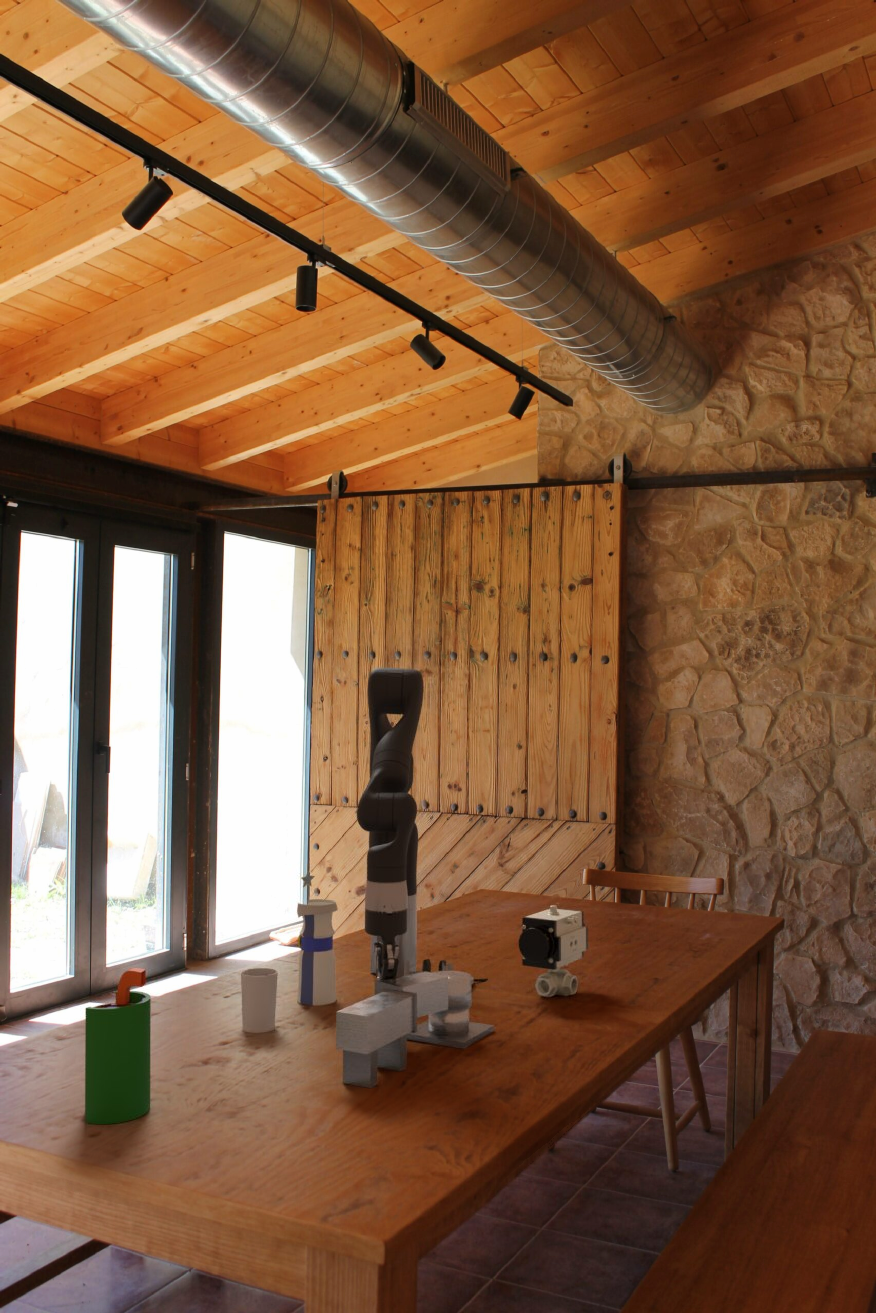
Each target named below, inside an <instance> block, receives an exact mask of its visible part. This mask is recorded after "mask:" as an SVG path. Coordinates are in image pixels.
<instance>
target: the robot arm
mask: <svg viewBox="0 0 876 1313" xmlns="http://www.w3.org/2000/svg"><path fill="white" fill-rule="evenodd" d="M424 689H425V687H424V678H423V674H422V672H421V671H419V670H417V669H413V668H400V667H399V668H398V667H376V668H374V669H372V670H371V671H370V672H369V675H368V680H367V689H366V690H367V691H366V693H367V708H368V719H369V720H368V721H369V731H370V732H369V734H370V738H369V739H370V742H369V743H370V744H369V780H368V783H367V785H366V787H365V789H364V791H363V792H362V795H361V796H360V799H359V801H358V804H357V808H356V820H357V822H358V825H359V826H360V828H362V830H364V831H365V832H368V850H367V853H366V884H365V893H364V932H365V933H366V934H367V935H369V936H370V973H372V974H375V975H376V980H382V981H385V980H389V979H394V978H398V977H403V976H404V964H405V961H410V963H409V971H417V962H418V961H417V940H418V939H417V938H418V937H417V936H418V935H417V934H418V933H417V932H418V931H417V929H418V926H417V925H418V924H417V919H418V916H417V914H418V913H417V911H418V907H417V906H418V902H417V901H418V900H417V899H418V898H417V897H418V894H417V892H418V889H417V888H418V887H417V886H418V884H417V880H418V879H417V875H418V874H417V866H418V849H419V848H418V847H419V829H418V826H417V824H416V821H417V820H416V819H417V814H418V805H417V802H416V800H415V798H414V797H413V795H412V794H410V793H409V792H410V790H411V788H412V786H413V783H414V763H415V762H414V756H413V753H412V752H413V747H414V743H415V738H416V735H417V731H418V727H419V722H420V718H421V712H422V708H423V702H424ZM388 715H402V716H401V717H400V719H399V720H398V722H397V723H396V724H394V726H393V725H392V724H391V721H390V720H389V717H388Z"/></svg>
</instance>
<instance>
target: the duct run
mask: <svg viewBox="0 0 876 1313" xmlns="http://www.w3.org/2000/svg"><path fill="white" fill-rule="evenodd" d="M335 1013H336V1014H335V1015H336V1017H335V1019H336V1020H335V1021H336V1022H335V1023H336V1024H335V1027H336V1028H335V1029H336V1030H335V1041H336V1042H335V1050H341V1051H342V1084H347V1085H352V1086H357V1087H362V1088H366V1089H367V1088H368V1089H372V1088H374V1087H375V1086H376V1085H378V1069H385V1070H391V1071H397V1072H402V1071H403V1070H405V1069H407V1054H408V1053H407V1049H408V1048H407V1044H408V1043H407V1034H408V1033H410V1032H411V1033H416V1032H417V1025H418V1017H417V993H413V992H406V991H399V990H392V989H385V988H384V989H382V992H381V993H379V994H377V995H375V994H374V995H373V996H369V997H367V998H365V999H362V1000H361V1001H357V1002H356V1003H353V1004H352V1005H349V1006H345V1007H344V1008H342V1009H339V1010H337V1011H336V1012H335Z"/></svg>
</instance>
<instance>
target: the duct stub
mask: <svg viewBox="0 0 876 1313" xmlns="http://www.w3.org/2000/svg"><path fill="white" fill-rule="evenodd" d="M493 1032H495V1025H494V1024H488V1023H481V1022H474V1021H470V1007H469V1008H466V1009H462V1010H444V1011H440V1012H437V1013H433V1014H429V1015H428V1019H427V1020H425V1021H423V1022H422V1023H419V1024H417V1032H416V1033H411V1032H410V1033H408V1034H407V1040H409V1041H414V1042H422V1043H426V1044H431V1045H437V1046H445V1047H452V1048H456V1049H466V1048H467V1047H468V1048H469V1047H470V1046H471V1045H472V1044H474V1043H476V1042H478V1041H479V1040H481V1039H483V1038H484V1037H486V1036H487V1035H489V1034H491V1033H493Z"/></svg>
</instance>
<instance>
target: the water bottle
mask: <svg viewBox="0 0 876 1313" xmlns="http://www.w3.org/2000/svg"><path fill="white" fill-rule="evenodd" d="M300 878H301V880H302V881H303V885H302V888H305V887H306V886H309V887H312V880H313V879H314V878H315V875H311V874H310V872H309V870H307V872H306V875H304V876H301V877H300ZM337 911H338V904H337V901H336V900H333V899H332V900H331V899H322V898H320V899H319V898H313V899H308V900H307V904H304V903H303V904H302V903H299V902H297V908H296V913H297V914H296V915H297V917H298V919H299V918H300V917H302V921H303V923H302V927H301V929H300V931H299V935H298V937H297V945H298V948H299V949H300V951H299V956H298V980H297V981H298V982H297V997H296V998H297V999H296V1000H297V1001H296V1002H297V1003H299V1004H301V1005H304V1006H327V1005H331V1004H333V1003H336V1001H337V991H336V989H337V988H336V956H335V955H336V954H335V950H334V940H333V939H334V938H333V937H334V935H335V933H336V931H335V930H334V928H333V923H332V922H333V914H334V913H335V912H337Z"/></svg>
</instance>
